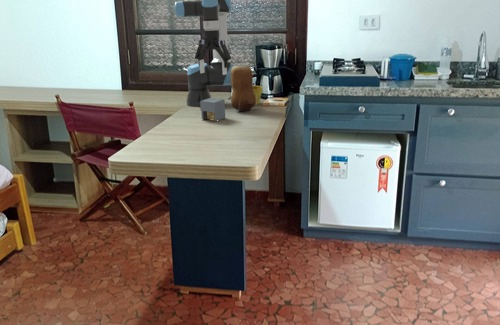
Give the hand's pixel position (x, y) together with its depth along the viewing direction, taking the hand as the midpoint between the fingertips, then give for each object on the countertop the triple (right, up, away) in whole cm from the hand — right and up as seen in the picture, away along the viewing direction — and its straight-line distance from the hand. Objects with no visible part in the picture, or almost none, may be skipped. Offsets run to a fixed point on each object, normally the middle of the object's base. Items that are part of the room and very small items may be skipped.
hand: (213, 73), depth 243 cm
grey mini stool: (-1, -22, +10) cm, 24 cm away
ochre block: (-1, -22, +10) cm, 24 cm away
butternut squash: (+15, -16, +26) cm, 34 cm away
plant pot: (+21, -10, +43) cm, 48 cm away
